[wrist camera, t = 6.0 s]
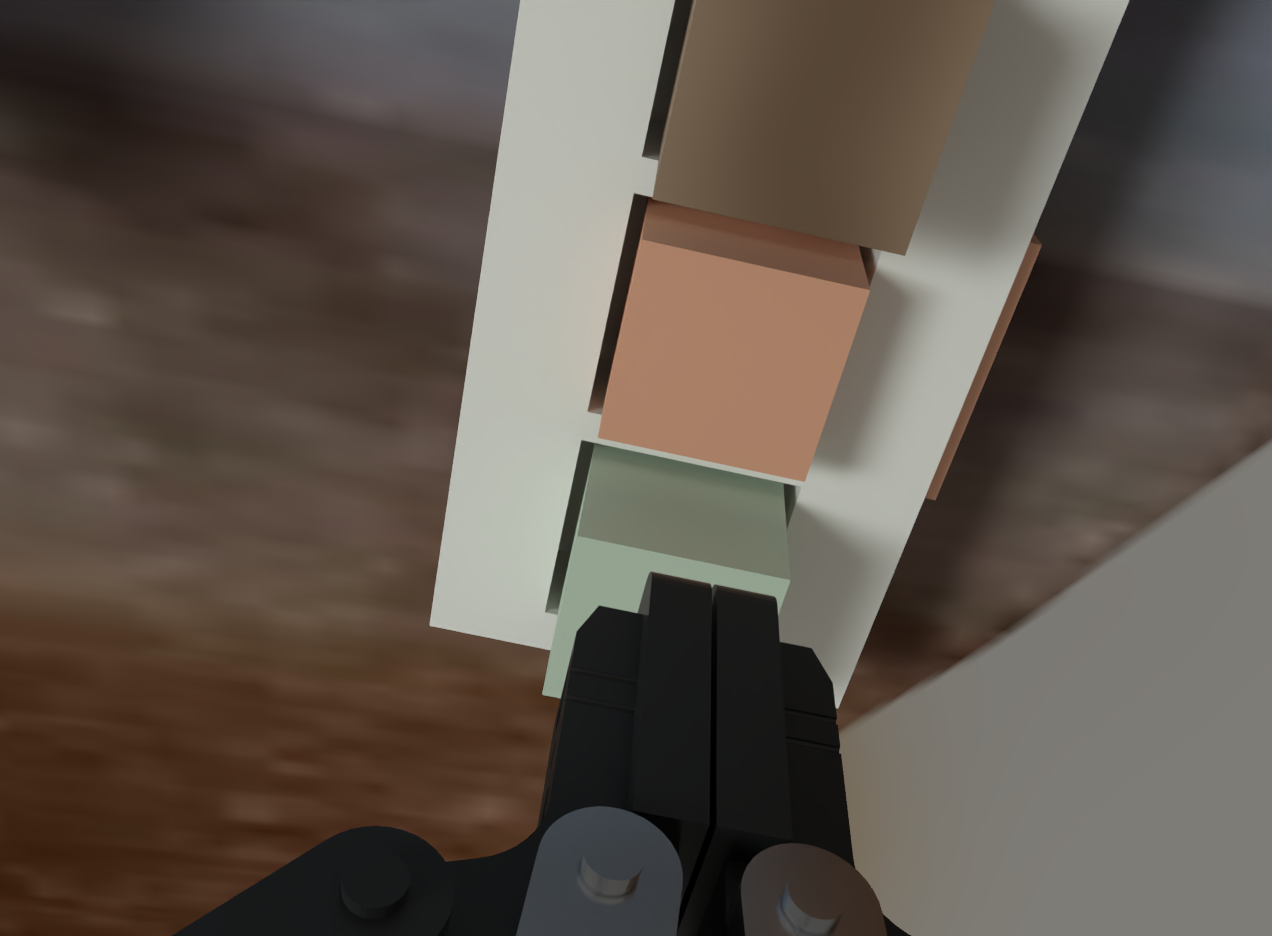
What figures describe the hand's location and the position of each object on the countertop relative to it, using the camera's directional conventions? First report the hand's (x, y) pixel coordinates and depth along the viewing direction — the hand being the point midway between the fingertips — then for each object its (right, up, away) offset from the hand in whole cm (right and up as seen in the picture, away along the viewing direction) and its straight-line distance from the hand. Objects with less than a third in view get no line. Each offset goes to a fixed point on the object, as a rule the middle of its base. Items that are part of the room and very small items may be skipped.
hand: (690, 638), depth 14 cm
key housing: (+1, +6, +12) cm, 14 cm away
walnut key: (+2, +10, +7) cm, 12 cm away
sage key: (0, 0, +13) cm, 13 cm away
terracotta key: (+1, +6, +11) cm, 13 cm away
